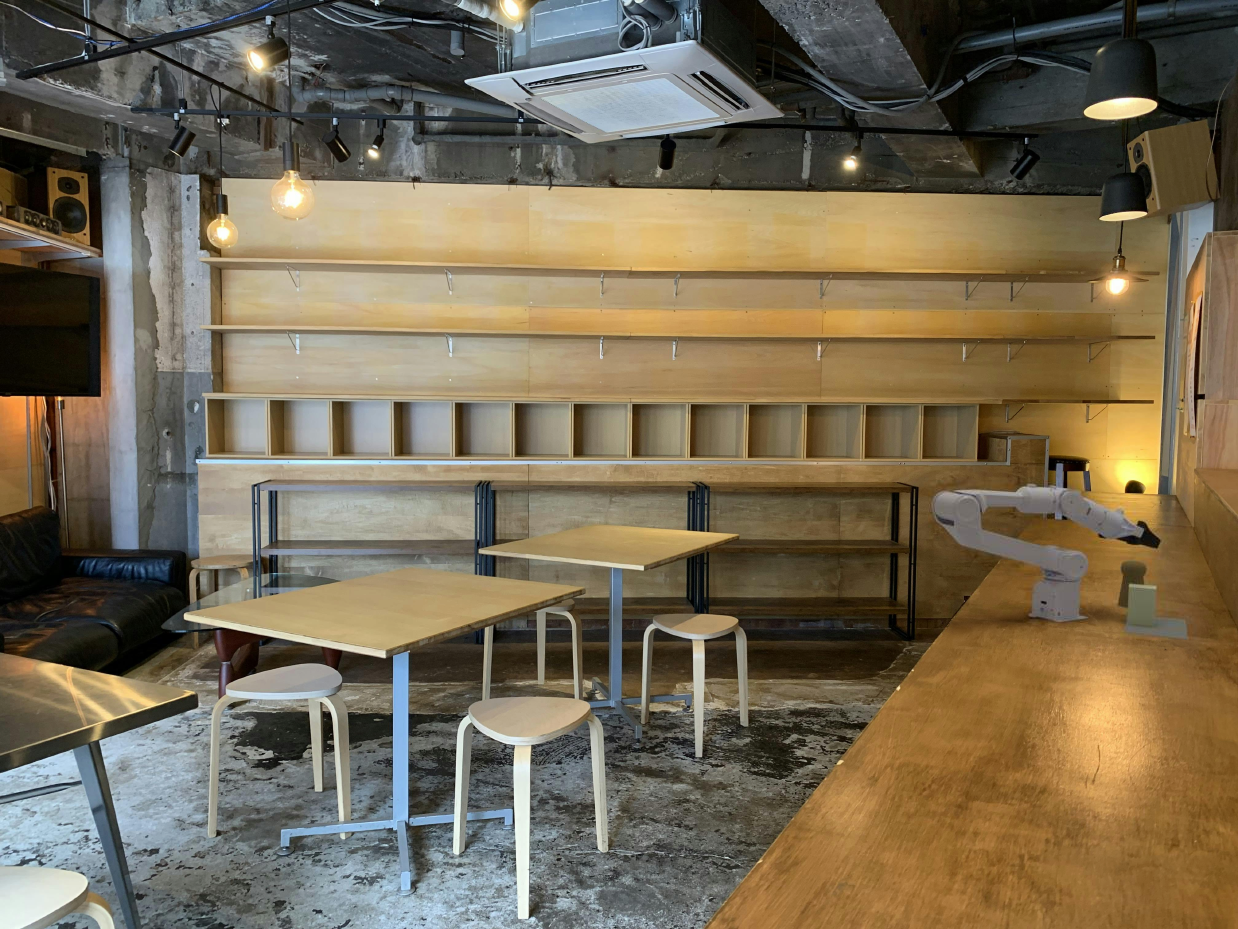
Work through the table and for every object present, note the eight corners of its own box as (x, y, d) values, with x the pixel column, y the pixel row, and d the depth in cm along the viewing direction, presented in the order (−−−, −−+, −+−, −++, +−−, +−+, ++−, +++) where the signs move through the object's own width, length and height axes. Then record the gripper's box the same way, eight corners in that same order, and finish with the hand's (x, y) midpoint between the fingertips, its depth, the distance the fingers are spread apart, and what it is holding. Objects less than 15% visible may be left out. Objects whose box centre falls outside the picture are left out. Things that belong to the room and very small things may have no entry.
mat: (1187, 642, 176) (1187, 639, 176) (1123, 635, 182) (1124, 632, 182) (1185, 622, 193) (1185, 619, 193) (1127, 616, 199) (1127, 613, 199)
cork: (1139, 605, 210) (1141, 559, 209) (1152, 611, 204) (1154, 563, 203) (1112, 605, 210) (1114, 559, 210) (1124, 610, 204) (1126, 563, 204)
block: (1154, 627, 186) (1156, 589, 186) (1127, 624, 189) (1128, 586, 188) (1155, 623, 190) (1156, 586, 189) (1128, 620, 192) (1129, 583, 192)
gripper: (1126, 504, 190) (1177, 529, 192) (1081, 497, 204) (1129, 520, 206) (1112, 534, 190) (1164, 559, 192) (1069, 525, 204) (1117, 548, 206)
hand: (1145, 541), depth 199 cm, fingers open, 7 cm apart
